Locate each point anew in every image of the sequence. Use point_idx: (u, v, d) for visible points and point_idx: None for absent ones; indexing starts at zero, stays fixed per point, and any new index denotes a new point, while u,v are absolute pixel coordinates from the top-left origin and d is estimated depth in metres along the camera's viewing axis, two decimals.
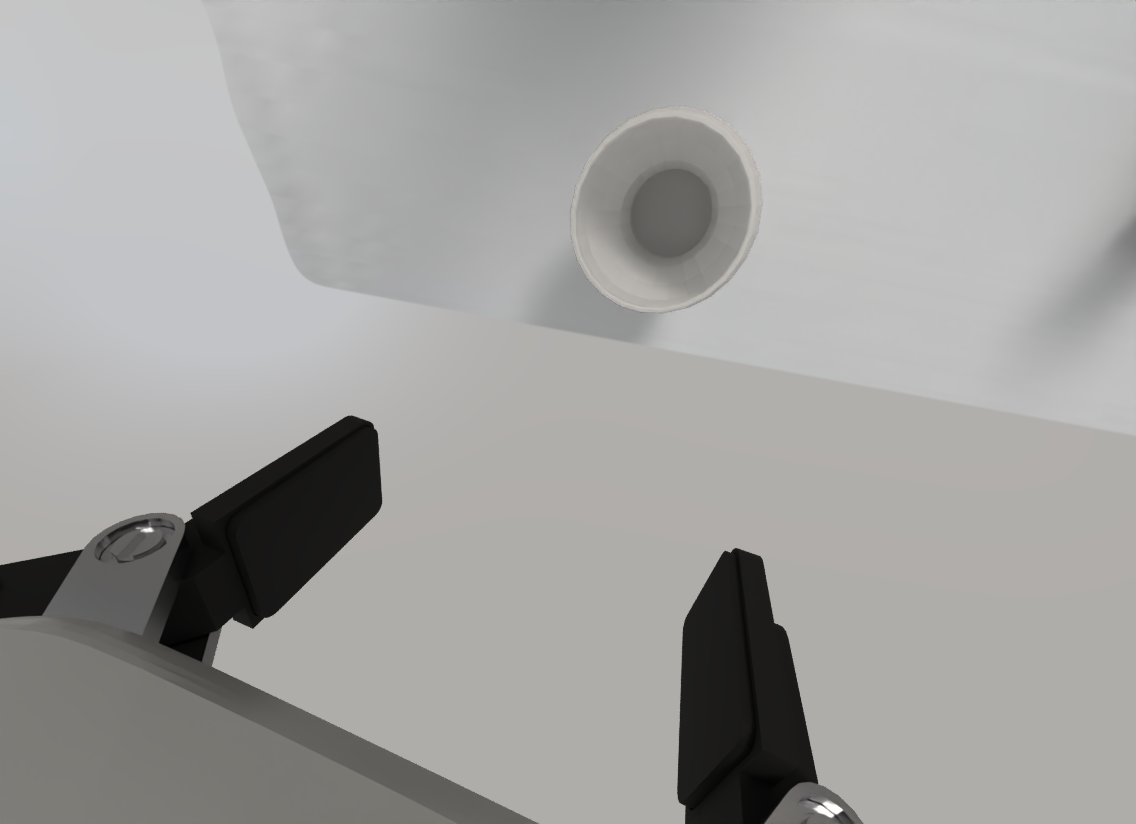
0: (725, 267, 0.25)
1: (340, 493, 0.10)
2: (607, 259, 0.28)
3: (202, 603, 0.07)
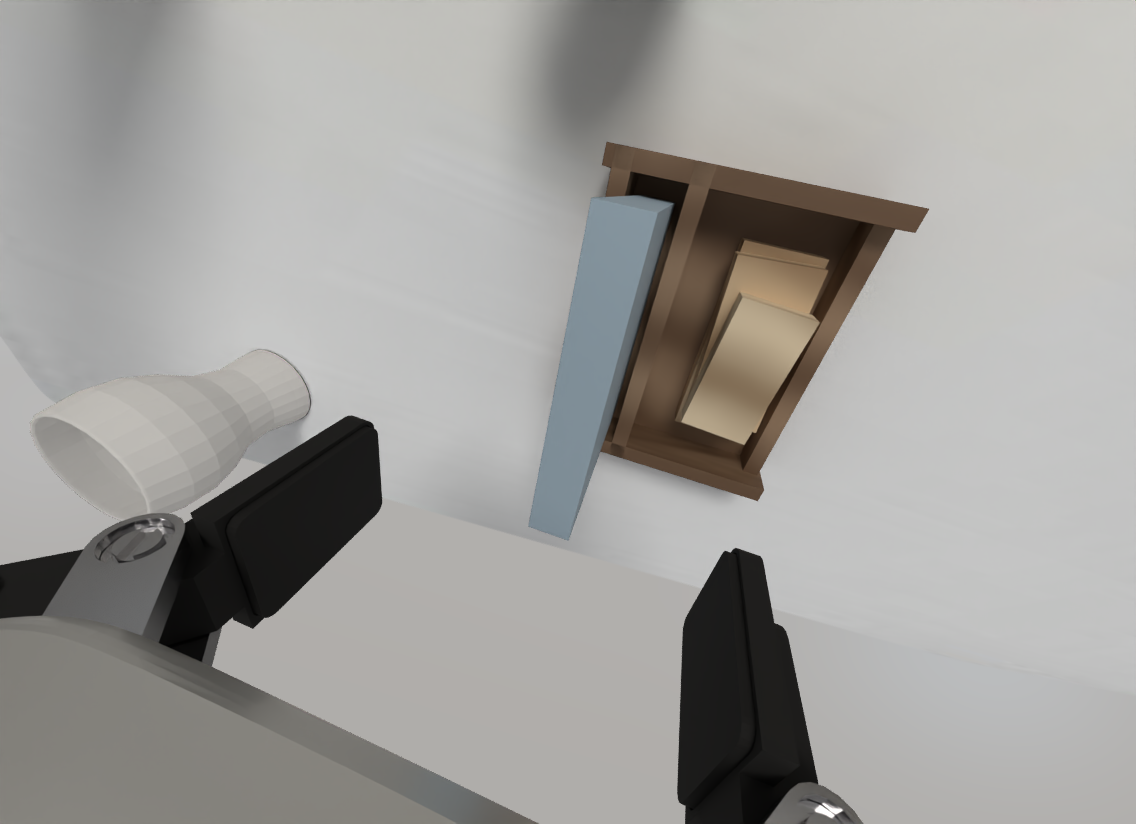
0: None
1: (340, 493, 0.10)
2: None
3: (202, 603, 0.07)
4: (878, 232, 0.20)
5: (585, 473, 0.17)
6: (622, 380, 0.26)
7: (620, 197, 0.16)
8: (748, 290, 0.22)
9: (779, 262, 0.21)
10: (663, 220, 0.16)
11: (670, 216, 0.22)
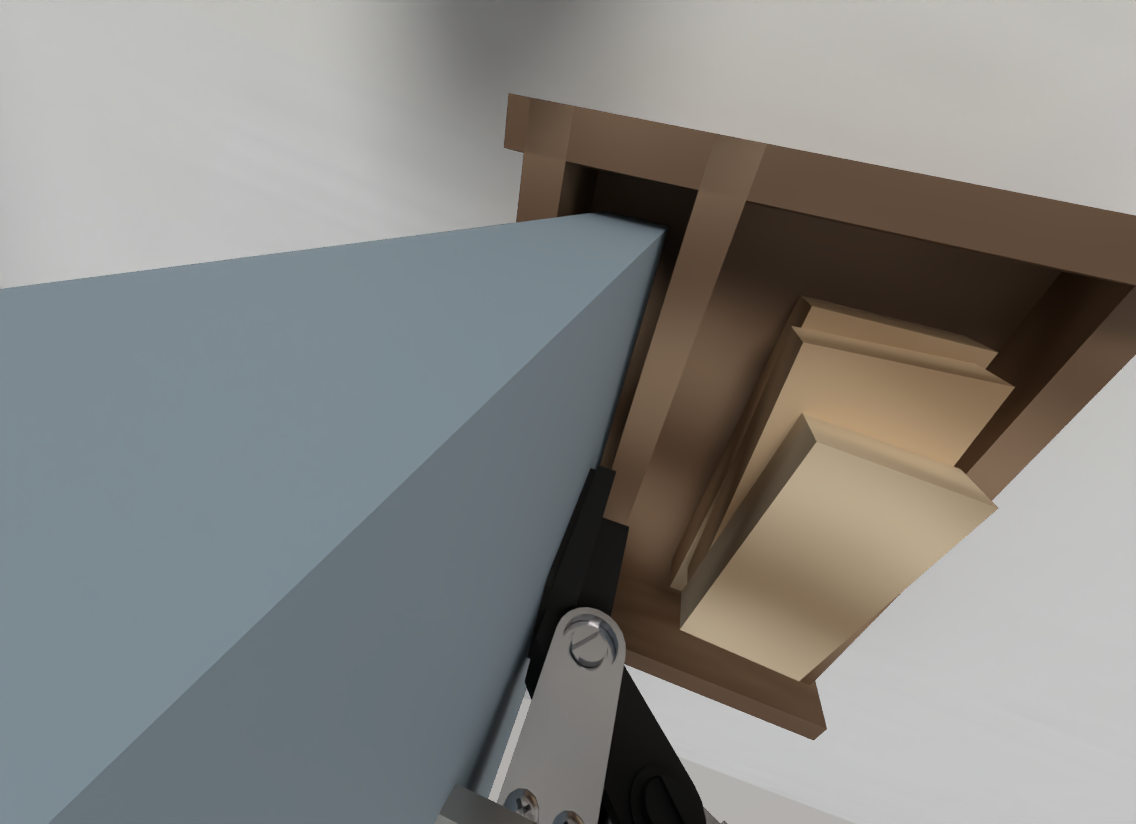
0: None
1: None
2: None
3: None
4: None
5: None
6: None
7: (448, 237, 0.04)
8: (821, 412, 0.10)
9: (896, 362, 0.10)
10: (612, 312, 0.05)
11: (658, 255, 0.11)
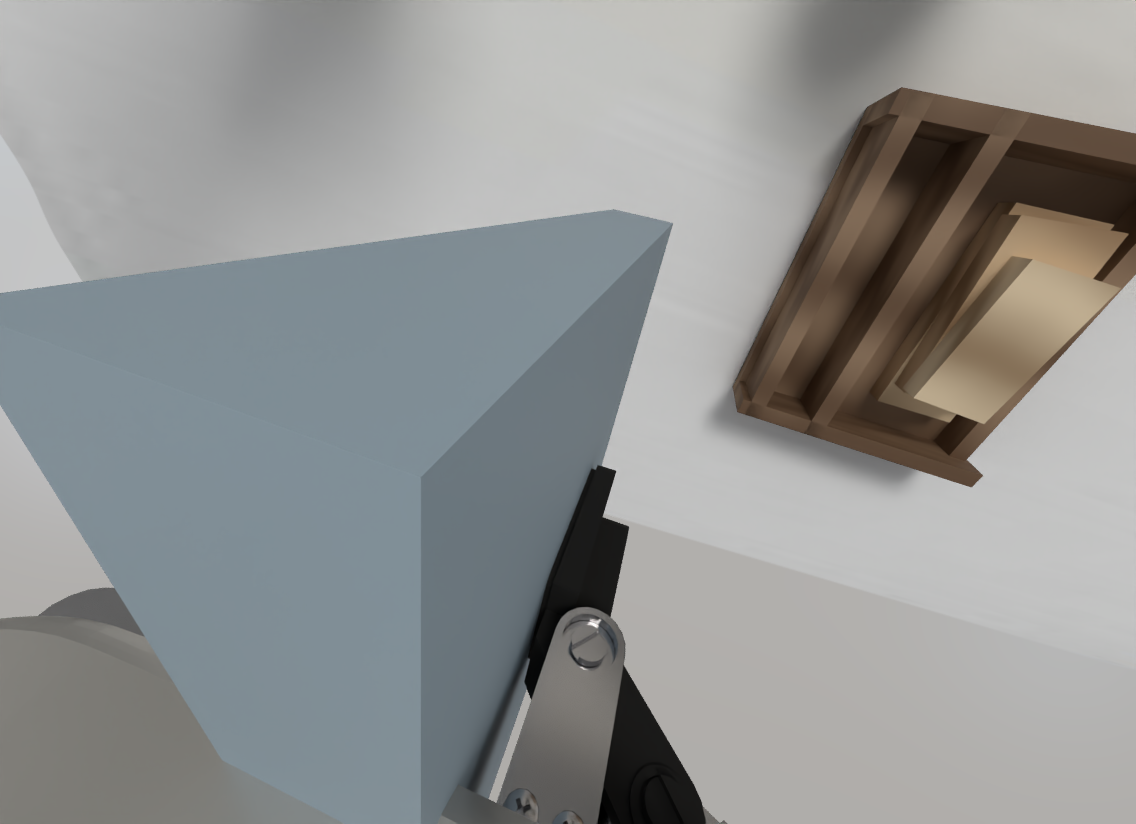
0: None
1: None
2: None
3: None
4: None
5: None
6: None
7: (497, 230, 0.05)
8: (1022, 255, 0.20)
9: (1069, 224, 0.20)
10: (629, 293, 0.06)
11: (662, 250, 0.12)
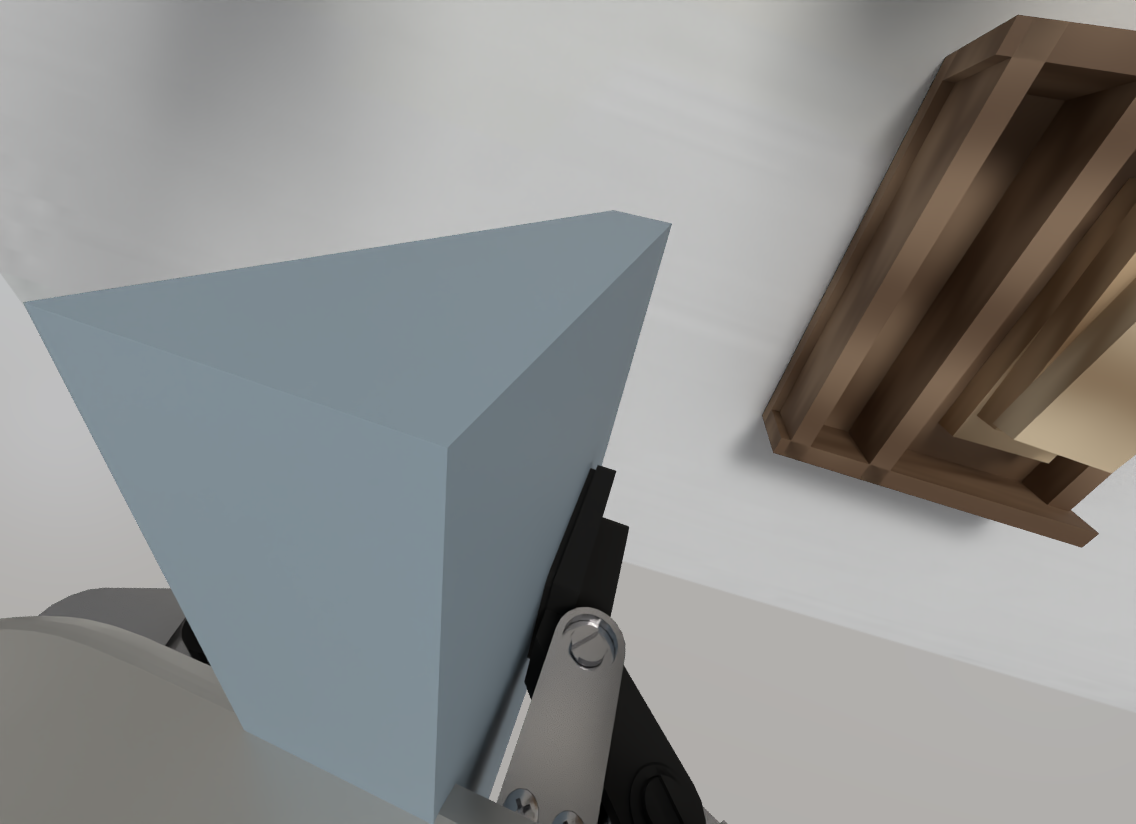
0: None
1: None
2: None
3: None
4: None
5: None
6: None
7: (501, 232, 0.05)
8: None
9: None
10: (627, 292, 0.06)
11: (661, 250, 0.12)
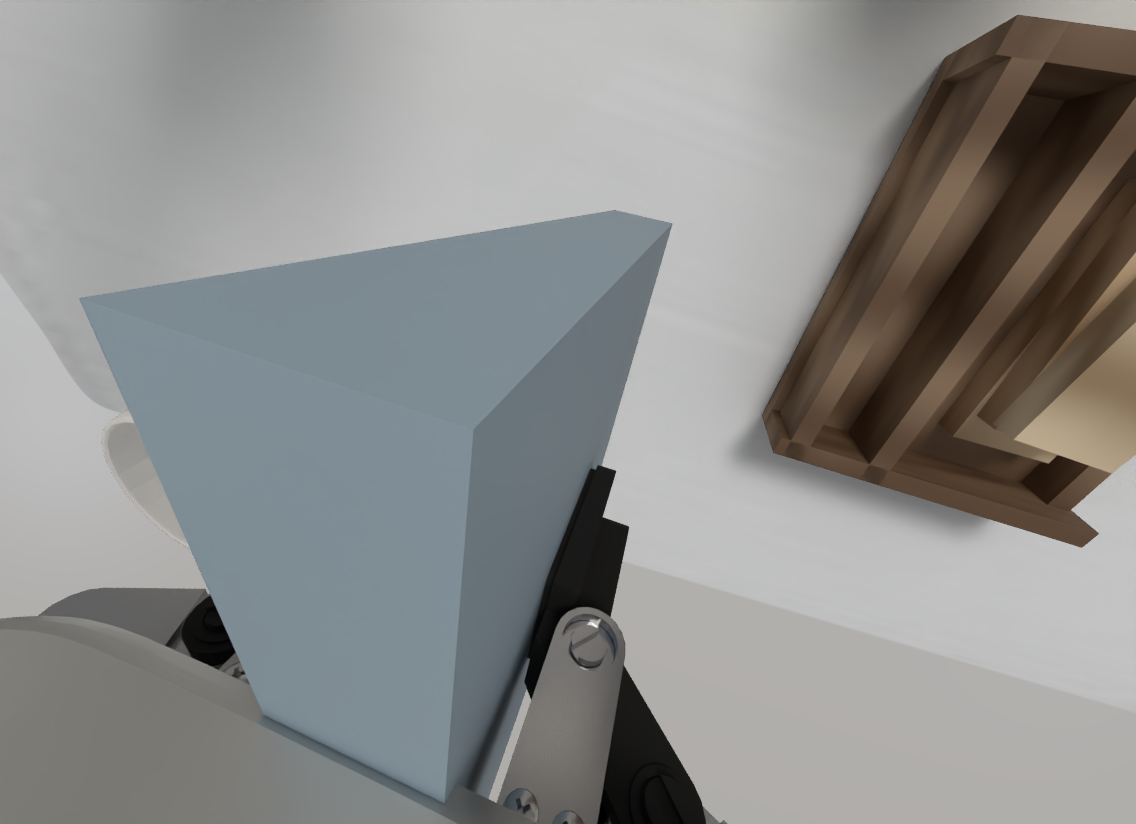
0: None
1: None
2: None
3: None
4: None
5: None
6: None
7: (506, 233, 0.06)
8: None
9: None
10: (629, 291, 0.06)
11: (662, 250, 0.12)
